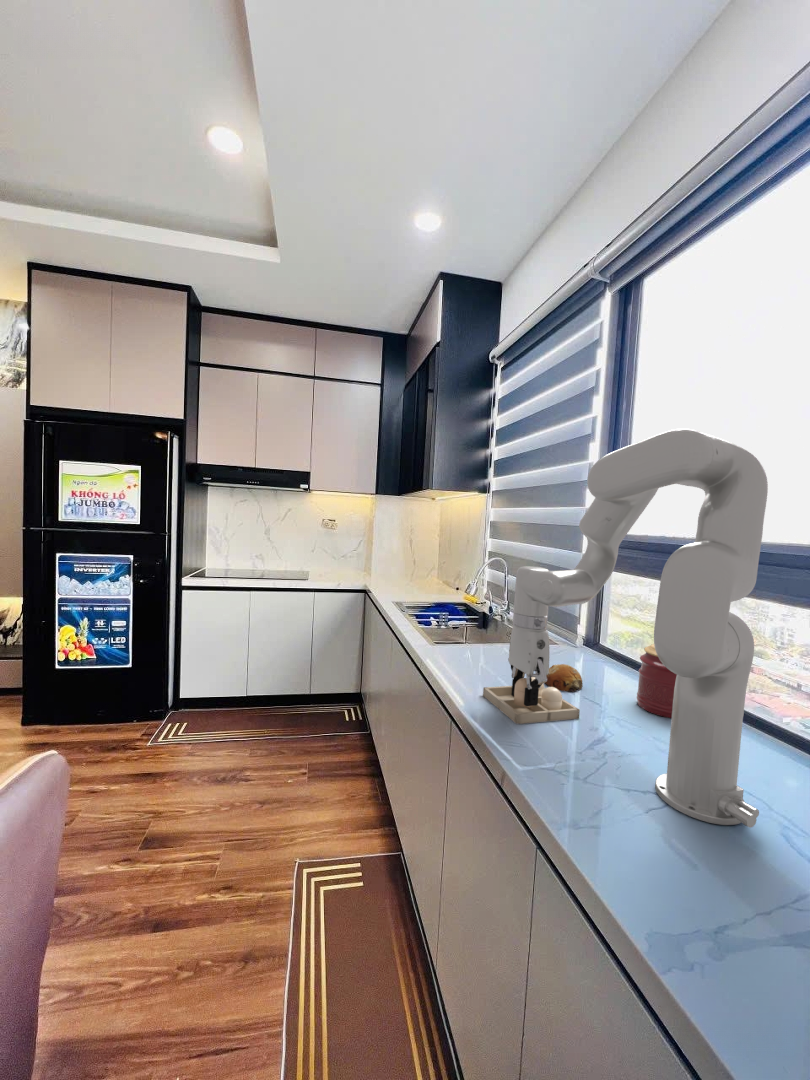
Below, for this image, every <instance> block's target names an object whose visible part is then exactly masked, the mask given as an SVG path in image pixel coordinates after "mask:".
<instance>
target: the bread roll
mask: <svg viewBox="0 0 810 1080" xmlns="http://www.w3.org/2000/svg"><path fill="white" fill-rule="evenodd" d="M546 676H547V682H545V683H544V684H545V685H546V686H548V687H555V688H557V689H558V690H559V691H560V692H568V693H569V692H570V693H574V692H579V691H580V690H581V689H582V688H583V678H582V676H581V673H580V672H579V671H578V669H576V668H575V667H573V666H572V665H569V664H565V663H561V664H552V666H549V673H548V675H546Z"/></svg>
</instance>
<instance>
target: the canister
mask: <svg viewBox="0 0 810 1080" xmlns="http://www.w3.org/2000/svg"><path fill="white" fill-rule="evenodd" d="M644 652H645V653H644V654H641V655H640V656H639V659H640V662H641V666H640V668H639V669H638V687H637V692H636V703H637V705H638V706H639V707H640V708H641V709H642V710H645V712H646V711H647V712H649V713H651V714H654V715H657V716H659V717H664V718H668V719H672V708H673V698H674V688H675V681H676V676H677V674H675V673H673V672H671V671H670V670H669V669H667V668H666V667H665V666H664V665H663V663H662V662H661V661H660V659H659V657H658V655H657V653H656V650H655V646H654V643H652V644H651V645H648V646H646V647H644Z"/></svg>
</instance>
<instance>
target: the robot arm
mask: <svg viewBox="0 0 810 1080" xmlns="http://www.w3.org/2000/svg"><path fill="white" fill-rule="evenodd" d="M671 485H681V486H685V487H692V488H699V489H700V490H702V491H703V492H704V495H705V496H704V499H703V502H702V505H701V506H700V510H699V513H698V518H697V525H696V526H697V528H696V535H695V540H694V542H692V543H691V542H690V543H688V544H685V545H683V546H680V547H679V548H678V549H676V550H675V551H673V552H672V553H671V555H670V556H669V557H668V558H667V561H666V562H665V564H664V566H663V568H662V573H661V575H660V582H659V589H658V597H657V605H656V612H655V613H656V614H655V621H654V628H653V644H654V646H655V650H656V653H657V655H658V657H659V659H660V661H661V662H662V663H663V665H664V666H665V667H666V668H667V669H669V670H670V671H671V672H673V673H675V674H677V676H676V681H675V688H674V698H673V708H672V718H670V719H671V721H670V731H669V732H670V733H669V734H670V735H669V744H668V756H667V770H666V773H663V774H660V775H659V776H657V777H656V779H655V781H654V782H655V784H654V785H655V787H654V788H655V791H656V793H657V794H658V796H659V797H660V799H661V800H663V802H665V804H666V803H667V804H668V805H669V806H670V807H672V808H673V809H674V810H677V811H679V812H680V813H682V814H684V815H687V816H689V817H691V818H693V819H696V820H698V821H703V822H705V823H710V824H714V825H721V826H735V825H739V824H741V823H742V824H743V825H745V826H746V827H747V828H754V827H755V825H756V823H757V818H758V817H759V815H760V811H759V809H757V808H756V807H754V806H752V805H751V804H748V803H747V802H745V800H744V798H743V797H744V791H745V790H744V789H743V787H740V786H739V785H738V776H739V775H738V773H739V765H740V762H739V761H740V755H741V753H740V752H741V741H742V733H743V732H742V730H743V720H744V713H745V705H746V694H747V688H748V682H749V677H750V674H751V668H752V665H753V661H754V655H755V641H754V636H753V634H752V631H751V629H750V627H749V626H748V625H747V622H745V621H744V620H743V619H742V618H741V617H740V616H738V615H737V614H734V613H733V612H730V609H731V604H732V603H733V602H737V601H740V600H742V599H744V598H746V597H747V596H749V594H750V593H752V591H753V590H754V588H755V587H756V583H757V578H758V571H759V570H758V569H759V561H760V555H761V548H762V547H761V546H762V541H763V531H764V521H765V515H766V514H765V513H766V507H767V500H768V490H769V488H768V487H769V485H768V477H767V473H766V470H765V468H764V466H763V464H761V462H760V460H759V459H758V458H757V457H756V455H754V454H753V453H751V452H750V451H748V450H747V449H745V448H743V447H741V446H739V445H737V444H734V443H733V442H730V441H727V440H725V439H723V438H720V437H716V436H714V435H711V434H707V433H704V432H701V431H699V430H696V429H691V428H676V429H671V430H668V431H667V430H666V431H664V432H661V433H658V434H656V435H652V436H650V437H648V438H645V439H643V440H640V441H637V442H635V443H632V444H630V445H626V446H624V447H622V448H619V449H617V450H614V451H612V452H610V453H609V452H608V454H605V455H603V456H601V457H600V459H598V460H596V462H595V463H594V464H593V466H592V467H591V468H590V470H589V472H588V475H587V489H588V490H589V492H590V494H591V495H592V496H593V497H594V499H593V501H592V502H591V504H590V506H589V507H588V509H587V510H586V512H585V513H584V515H583V516H582V518H581V519H580V521H579V524H578V525H579V526H578V527H579V530H580V532H581V533H582V535H583V536H584V537H586V539H587V540H586V541H587V546H586V550H585V552H584V554H583V555H582V557H581V559H580V560H579V562H578V563H577V565H576V566H575V567H574V569H565V570H564V569H561V570H549V569H548V568H545V567H540V566H532V565H530V566H529V565H527V566H526V565H524V566H520V567H518V569H517V570H516V574H515V587H514V599H513V600H514V602H513V612H512V613H513V615H512V629H511V633H510V640H509V647H508V648H509V649H508V659H507V660H508V661H507V662H508V663H509V665H510V670H511V678H512V680H511V681H512V683H511V686H512V696H513V697H514V690H515V684H516V682H517V681H518V680H519V679H521V678H527V688H525V695H524V705H525V706H535V705H537V704H538V693H539V689H540V688H541V685H542V684H543V683H544V684H546V683H545V682H547V676H546V675H548V673H549V668H550V637H549V631H548V622H549V621H548V620H549V619H548V617H549V607H554V608H557V607H558V608H560V607H567V606H574V605H575V606H576V605H583V604H586V603H588V602H591V600H593V598H595V597H596V596H597V595H598V594H599V593H600V591H601V589H602V588H604V586H605V584H606V582H607V581H608V580H609V578H610V577H611V576H612V575H613V572H614V569H615V567H616V564H617V559H618V556H619V547H620V545H621V543H622V542H623V540H624V539H625V537H626V536H627V535H628V534H629V532H630V530H631V529H632V528H633V526H634V525H635V523H636V522H637V521H638V519H639V518H640V516H641V515H642V514H643V513H644V511H645V510H646V508H647V507H648V505H649V504H650V503H651V501H652V500H653V499H654V497H655V495H656V494H657V492H658V490H659V489H660V488H663V487H668V486H671ZM525 676H526V677H525ZM531 677H535V679H534V680H533V681H532V679H531Z"/></svg>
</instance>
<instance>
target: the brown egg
mask: <svg viewBox="0 0 810 1080" xmlns="http://www.w3.org/2000/svg"><path fill="white" fill-rule="evenodd" d="M525 688H527V678H526V677H524V678H521V679H519V680H518V681H517V682H516V684H515V690H514V703H515V704H516V705H518V706H522V707H533V706H525V705H524V695H525Z"/></svg>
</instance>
